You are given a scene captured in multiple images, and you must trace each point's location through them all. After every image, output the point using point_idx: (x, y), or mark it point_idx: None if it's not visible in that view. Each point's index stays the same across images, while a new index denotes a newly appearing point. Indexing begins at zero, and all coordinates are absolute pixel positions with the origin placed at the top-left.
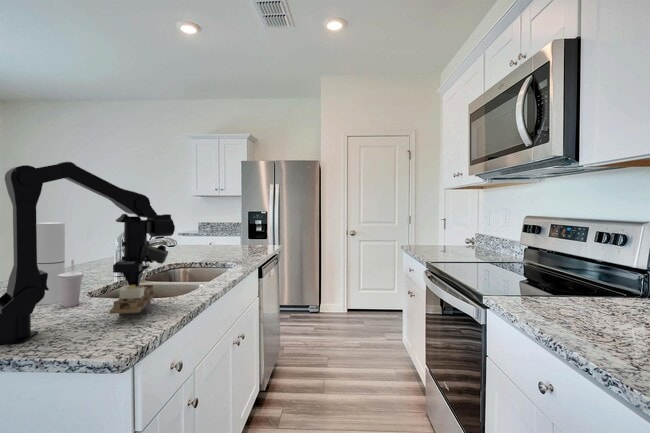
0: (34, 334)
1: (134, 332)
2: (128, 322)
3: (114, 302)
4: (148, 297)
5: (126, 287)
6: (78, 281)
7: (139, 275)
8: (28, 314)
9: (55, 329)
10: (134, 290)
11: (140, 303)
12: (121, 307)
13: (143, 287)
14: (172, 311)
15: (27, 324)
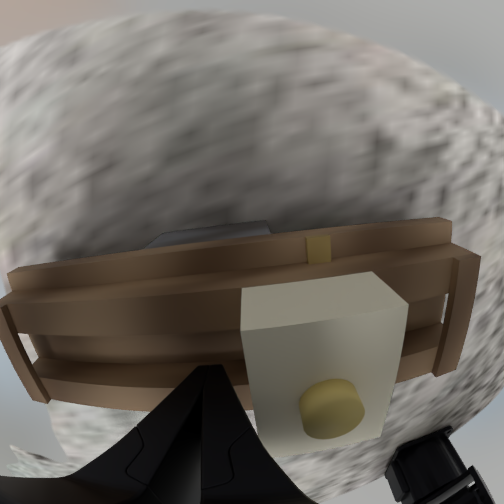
0: (416, 441)
1: (483, 194)
2: None
3: (456, 365)
4: (157, 265)
5: (289, 441)
6: None
7: (260, 486)
8: (448, 476)
9: (380, 437)
10: (398, 349)
11: (352, 257)
12: (414, 331)
13: (276, 322)
14: (199, 92)
15: (443, 458)
